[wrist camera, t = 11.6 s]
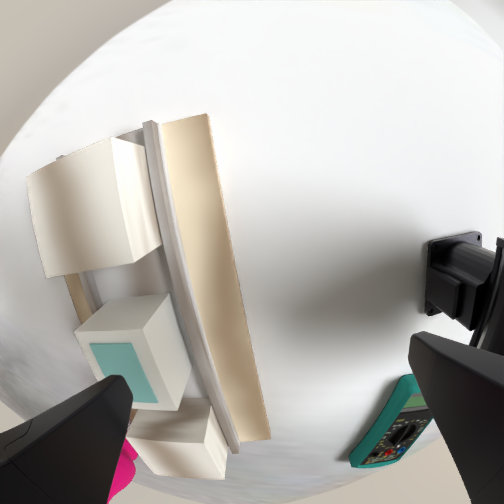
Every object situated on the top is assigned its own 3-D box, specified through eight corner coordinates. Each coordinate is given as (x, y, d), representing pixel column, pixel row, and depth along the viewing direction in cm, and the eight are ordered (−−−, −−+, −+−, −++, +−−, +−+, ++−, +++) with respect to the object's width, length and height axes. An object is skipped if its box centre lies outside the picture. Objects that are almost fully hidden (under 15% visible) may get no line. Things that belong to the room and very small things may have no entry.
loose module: (170, 292, 17) (141, 330, 12) (192, 364, 19) (177, 412, 14) (110, 299, 18) (72, 332, 13) (136, 366, 19) (111, 407, 14)
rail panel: (209, 117, 16) (184, 83, 10) (270, 431, 23) (272, 484, 16) (50, 171, 17) (-6, 173, 11) (144, 432, 24) (127, 475, 17)
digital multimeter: (344, 456, 25) (349, 473, 22) (400, 370, 21) (412, 388, 18) (390, 451, 25) (397, 466, 22) (448, 368, 22) (461, 383, 19)
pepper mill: (85, 428, 24) (28, 534, 5) (103, 411, 23) (34, 542, 4) (130, 458, 25) (89, 567, 6) (154, 445, 24) (111, 579, 5)
